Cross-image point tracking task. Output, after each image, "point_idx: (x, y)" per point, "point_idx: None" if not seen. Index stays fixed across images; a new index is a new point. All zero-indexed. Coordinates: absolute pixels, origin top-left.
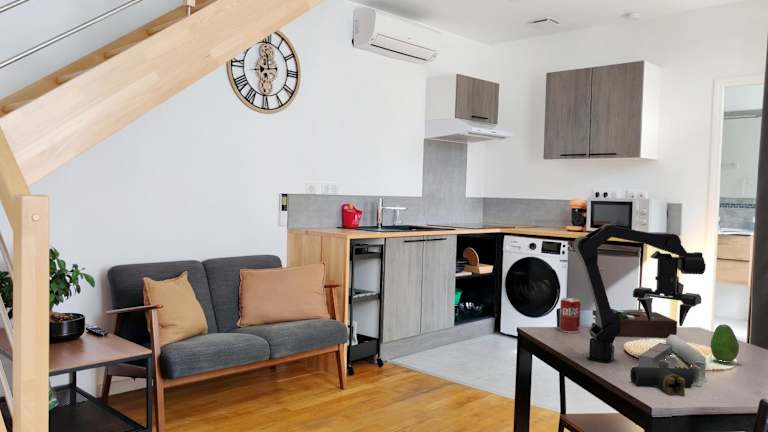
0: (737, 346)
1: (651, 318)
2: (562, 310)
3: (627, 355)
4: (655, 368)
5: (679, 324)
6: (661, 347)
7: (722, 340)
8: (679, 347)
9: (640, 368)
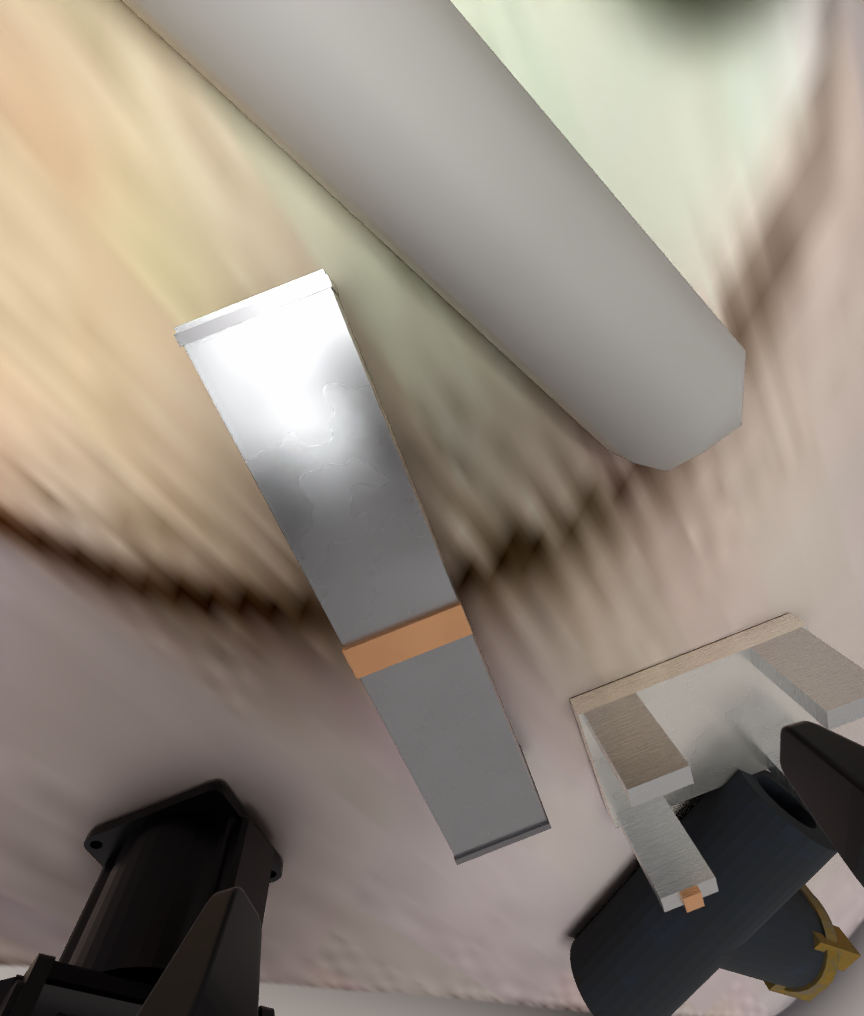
0: None
1: (227, 945)
2: None
3: (147, 613)
4: (704, 980)
5: (805, 802)
6: (354, 505)
7: None
8: (380, 203)
9: None
